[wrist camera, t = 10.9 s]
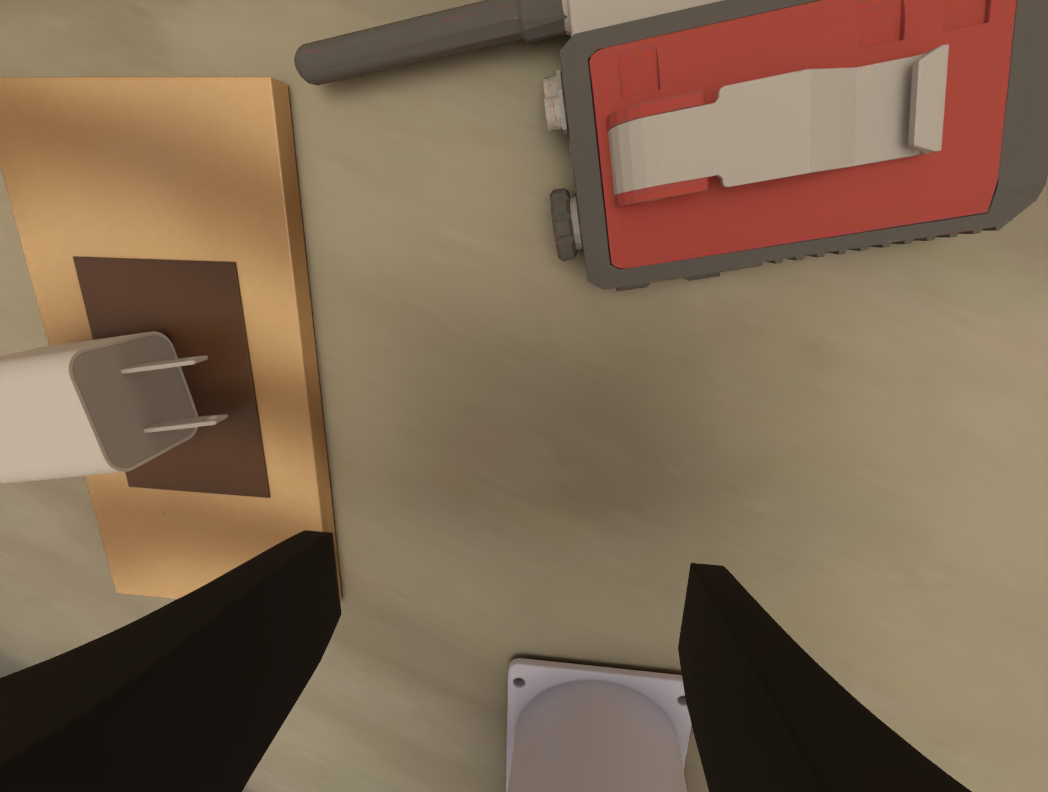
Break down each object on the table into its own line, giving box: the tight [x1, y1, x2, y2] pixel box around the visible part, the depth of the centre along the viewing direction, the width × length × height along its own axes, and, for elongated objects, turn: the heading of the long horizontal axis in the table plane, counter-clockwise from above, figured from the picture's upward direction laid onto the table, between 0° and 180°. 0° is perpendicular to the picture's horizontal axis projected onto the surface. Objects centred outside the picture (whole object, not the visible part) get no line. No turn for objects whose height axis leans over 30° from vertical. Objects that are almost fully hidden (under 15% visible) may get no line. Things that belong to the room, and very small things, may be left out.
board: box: [0, 77, 342, 602], centre depth 20 cm, size 20×10×1 cm, turn 179°
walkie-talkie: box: [294, 0, 1048, 291], centre depth 14 cm, size 9×4×20 cm
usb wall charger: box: [0, 331, 228, 483], centre depth 17 cm, size 4×7×4 cm, turn 98°
